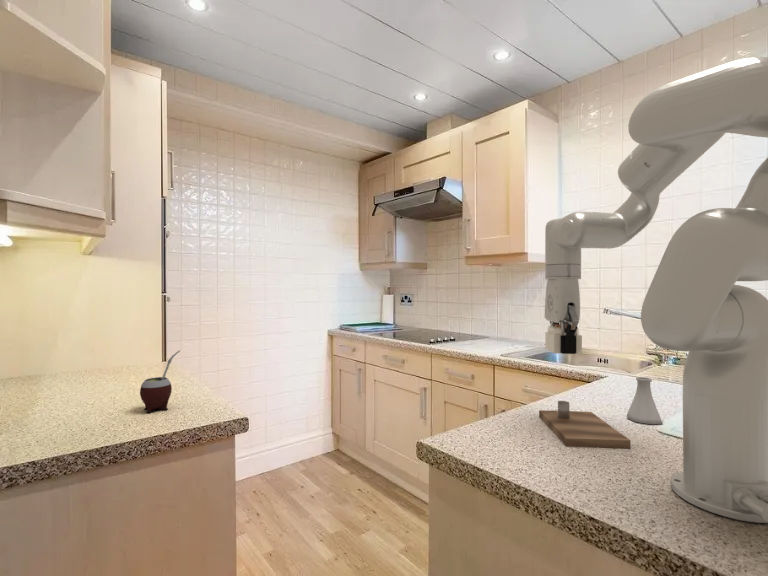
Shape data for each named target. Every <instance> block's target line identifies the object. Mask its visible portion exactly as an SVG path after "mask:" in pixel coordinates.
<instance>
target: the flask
mask: <svg viewBox="0 0 768 576" xmlns="http://www.w3.org/2000/svg"><path fill="white" fill-rule="evenodd" d="M635 380H636V384H637V386H636V390H635V395H634V396H633V398H632V401H631V404H630V406H629V409H628V411H627V413H626V418H627V419H628V420H630V421H633V422H635V423H639V424H640V423H641V424H647V425H648V424H649V425H660V424H661V425H663V424H664V423H663V421H662V418H661V416H660V414H659V410H658V408H657V405H656V403H655V400H654V397H653V395H652V394H653V393H652V388H651V383H652V378H650V377H646V376H636V377H635Z"/></svg>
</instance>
